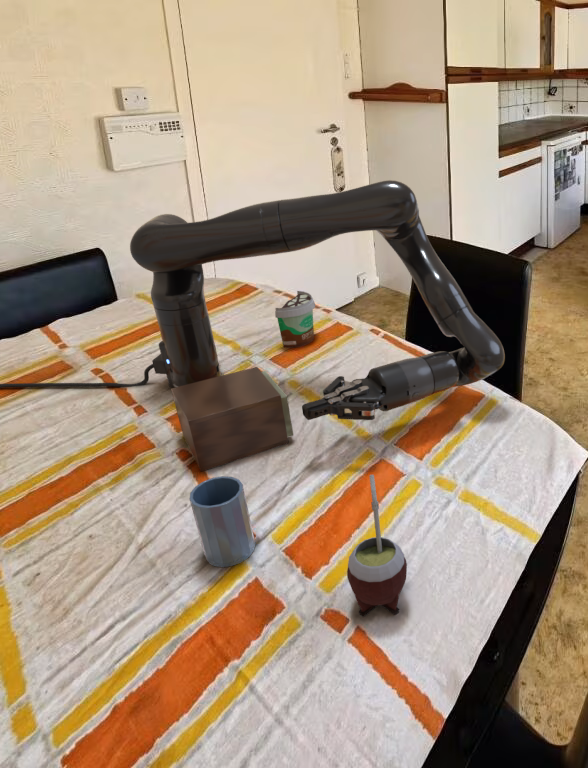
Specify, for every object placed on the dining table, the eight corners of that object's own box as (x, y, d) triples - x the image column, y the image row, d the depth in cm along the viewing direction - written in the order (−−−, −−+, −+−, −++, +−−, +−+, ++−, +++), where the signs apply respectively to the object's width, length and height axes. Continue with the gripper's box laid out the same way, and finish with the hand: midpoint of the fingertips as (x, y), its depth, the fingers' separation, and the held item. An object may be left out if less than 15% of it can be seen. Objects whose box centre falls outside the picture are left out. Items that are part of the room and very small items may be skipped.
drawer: (278, 405, 117) (272, 368, 113) (300, 433, 108) (294, 394, 105) (196, 429, 110) (187, 390, 106) (213, 460, 101) (203, 420, 98)
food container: (306, 352, 139) (300, 310, 135) (280, 350, 140) (274, 308, 136) (327, 331, 150) (322, 291, 145) (303, 329, 151) (298, 289, 146)
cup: (196, 565, 82) (180, 505, 77) (218, 532, 88) (204, 474, 83) (243, 569, 81) (229, 509, 77) (262, 535, 87) (250, 477, 82)
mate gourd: (377, 633, 72) (368, 535, 65) (335, 598, 77) (321, 503, 70) (422, 596, 77) (418, 500, 70) (380, 565, 82) (372, 473, 75)
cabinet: (265, 412, 116) (257, 366, 112) (288, 443, 107) (280, 395, 103) (183, 436, 109) (170, 388, 105) (200, 471, 100) (188, 421, 96)
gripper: (381, 349, 109) (285, 375, 101) (419, 378, 100) (317, 410, 91) (384, 387, 113) (292, 415, 104) (421, 418, 103) (323, 452, 95)
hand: (304, 412), depth 98 cm, fingers closed
